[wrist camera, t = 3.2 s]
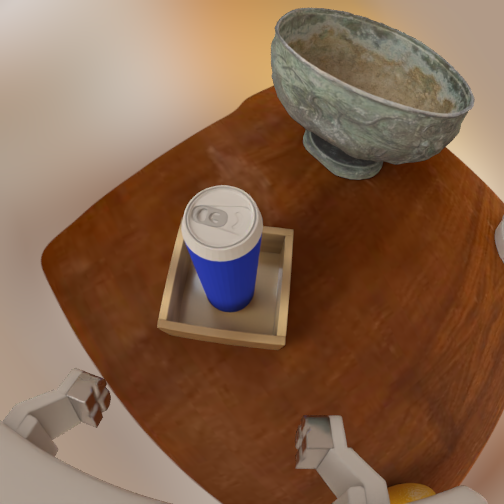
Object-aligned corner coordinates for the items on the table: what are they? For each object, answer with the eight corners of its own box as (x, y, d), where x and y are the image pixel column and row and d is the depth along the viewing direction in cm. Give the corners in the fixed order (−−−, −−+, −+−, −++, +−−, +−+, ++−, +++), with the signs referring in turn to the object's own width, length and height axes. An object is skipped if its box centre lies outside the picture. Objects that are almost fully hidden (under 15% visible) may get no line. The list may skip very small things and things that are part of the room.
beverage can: (257, 272, 31) (269, 188, 18) (249, 317, 29) (256, 262, 16) (212, 264, 32) (192, 177, 18) (201, 308, 29) (167, 246, 16)
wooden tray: (278, 350, 28) (285, 345, 24) (169, 334, 28) (156, 327, 24) (286, 249, 33) (293, 229, 29) (189, 238, 33) (182, 216, 29)
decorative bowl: (359, 94, 48) (384, 12, 29) (443, 189, 39) (506, 109, 20) (238, 118, 43) (234, 10, 25) (318, 247, 34) (377, 126, 16)
